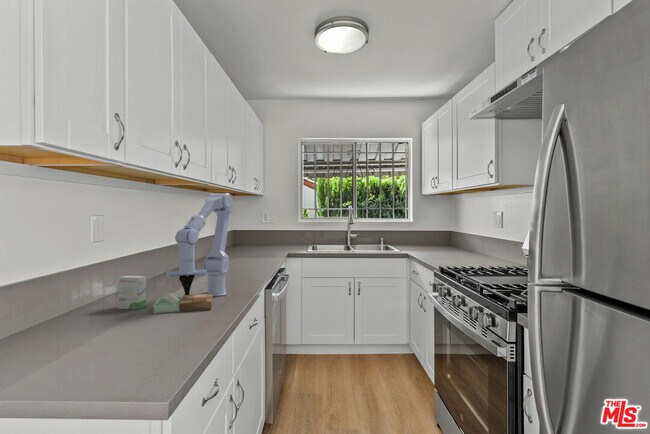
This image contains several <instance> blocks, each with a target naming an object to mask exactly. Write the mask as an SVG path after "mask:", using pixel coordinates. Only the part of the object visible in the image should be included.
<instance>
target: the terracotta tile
mask: <svg viewBox="0 0 650 434" xmlns="http://www.w3.org/2000/svg"><path fill="white" fill-rule="evenodd" d="M193 295H194V302H200V301H207V293H200V294H199V295H196V294H193Z"/></svg>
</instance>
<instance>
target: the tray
mask: <svg viewBox="0 0 650 434" xmlns="http://www.w3.org/2000/svg"><path fill="white" fill-rule="evenodd" d="M175 297H176V298H178V299H179V302H178V303H177V304H176V305H173V304H172V303H170V302H169V301H168V300H166V297H159V298H158V299H157V300H156V302H155V303H154V304H153V306H152V314H167V313H180V310H179V303H180V302H181V300H182V298H183V296H175Z"/></svg>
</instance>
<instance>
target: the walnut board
mask: <svg viewBox="0 0 650 434" xmlns="http://www.w3.org/2000/svg"><path fill="white" fill-rule="evenodd" d="M206 294H207V293H206ZM194 295H199V294H196V293H195V294H189V295H185V294H184V295H183V296H182V297H183V298H182V300H181V302H180V303H179V310H180V312H196V311H197V312H198V311H211V310H212V307H213V302H214V296H213V294H207V301H200V302H194ZM180 312H179V313H180Z"/></svg>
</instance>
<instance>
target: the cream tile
mask: <svg viewBox="0 0 650 434" xmlns="http://www.w3.org/2000/svg"><path fill="white" fill-rule="evenodd" d="M176 297H177V296H175V295H174V294H172V293H171V292H169V294H167V295H166V297H165V298H166V300H168V301H169V302H170V303H172V304H173V305H176V304H177V303H178V302H179V299H178V298H176Z"/></svg>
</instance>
